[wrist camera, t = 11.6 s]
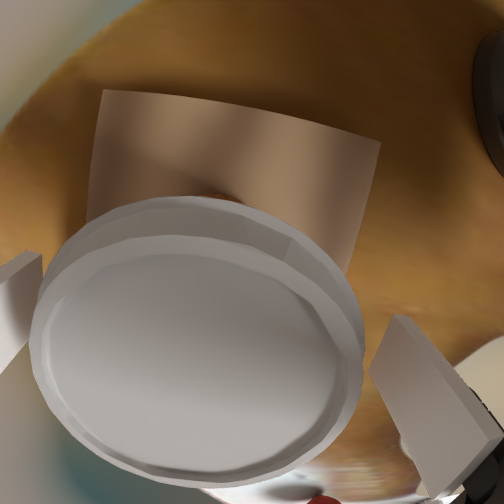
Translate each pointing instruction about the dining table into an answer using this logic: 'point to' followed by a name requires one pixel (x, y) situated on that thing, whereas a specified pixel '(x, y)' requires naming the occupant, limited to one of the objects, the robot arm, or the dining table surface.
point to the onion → (323, 500)
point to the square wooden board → (233, 163)
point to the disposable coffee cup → (198, 342)
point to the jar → (431, 502)
